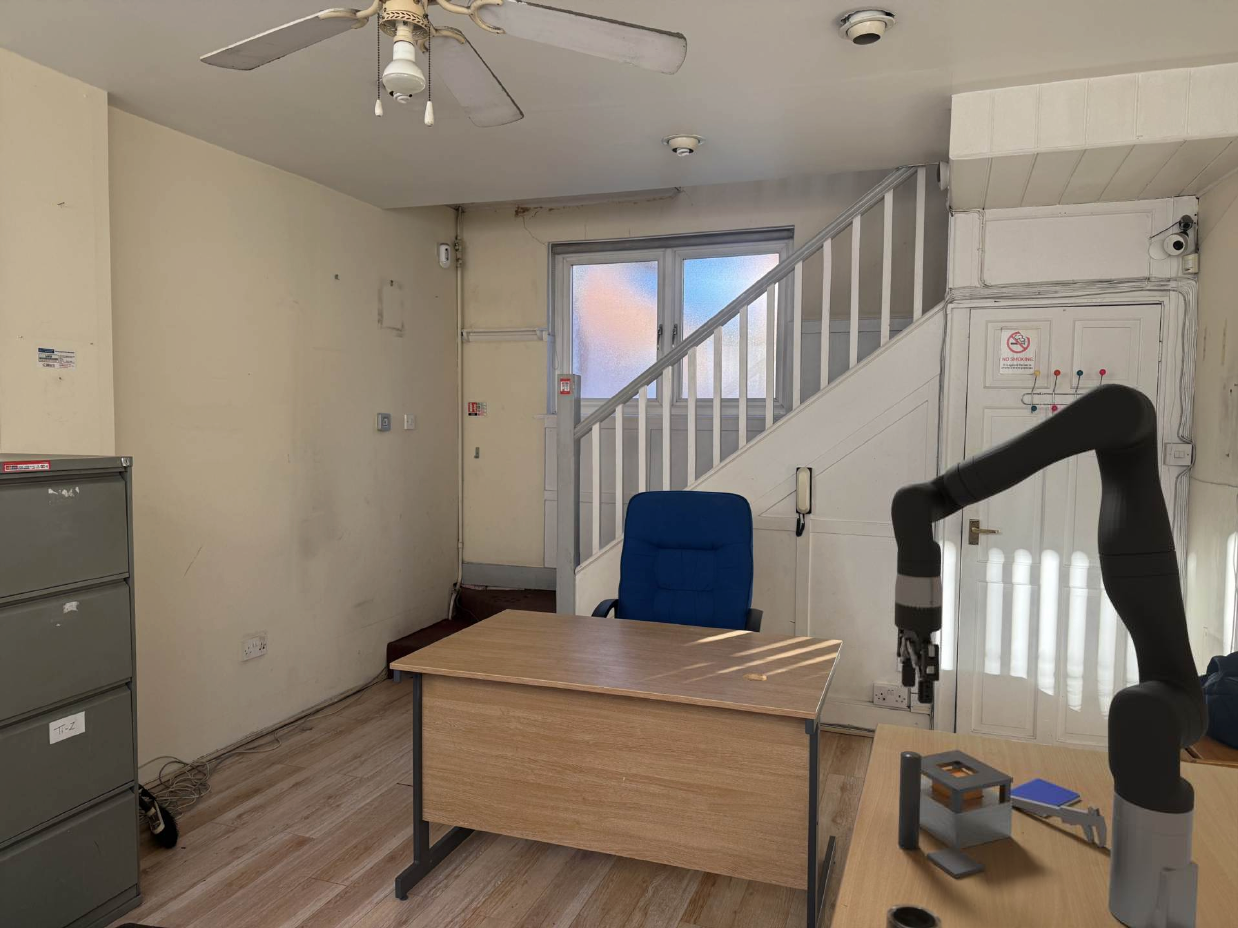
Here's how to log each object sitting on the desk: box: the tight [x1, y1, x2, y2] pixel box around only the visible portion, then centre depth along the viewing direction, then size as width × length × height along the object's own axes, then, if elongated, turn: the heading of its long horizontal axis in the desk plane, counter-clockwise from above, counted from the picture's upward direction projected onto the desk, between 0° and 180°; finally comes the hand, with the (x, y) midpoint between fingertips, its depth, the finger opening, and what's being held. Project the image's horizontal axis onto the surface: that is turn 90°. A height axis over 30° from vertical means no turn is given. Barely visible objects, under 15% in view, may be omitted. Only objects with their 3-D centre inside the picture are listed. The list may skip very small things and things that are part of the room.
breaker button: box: [932, 767, 983, 801], centre depth 134 cm, size 6×6×5 cm
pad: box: [925, 847, 986, 879], centre depth 123 cm, size 6×6×1 cm
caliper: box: [996, 791, 1108, 848], centre depth 137 cm, size 20×1×6 cm, turn 31°
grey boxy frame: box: [919, 749, 1014, 850], centre depth 134 cm, size 12×12×10 cm
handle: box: [897, 750, 922, 851], centre depth 128 cm, size 3×3×15 cm
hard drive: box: [1011, 777, 1081, 818], centre depth 145 cm, size 2×8×12 cm
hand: (916, 694), depth 134 cm, fingers open, 8 cm apart
